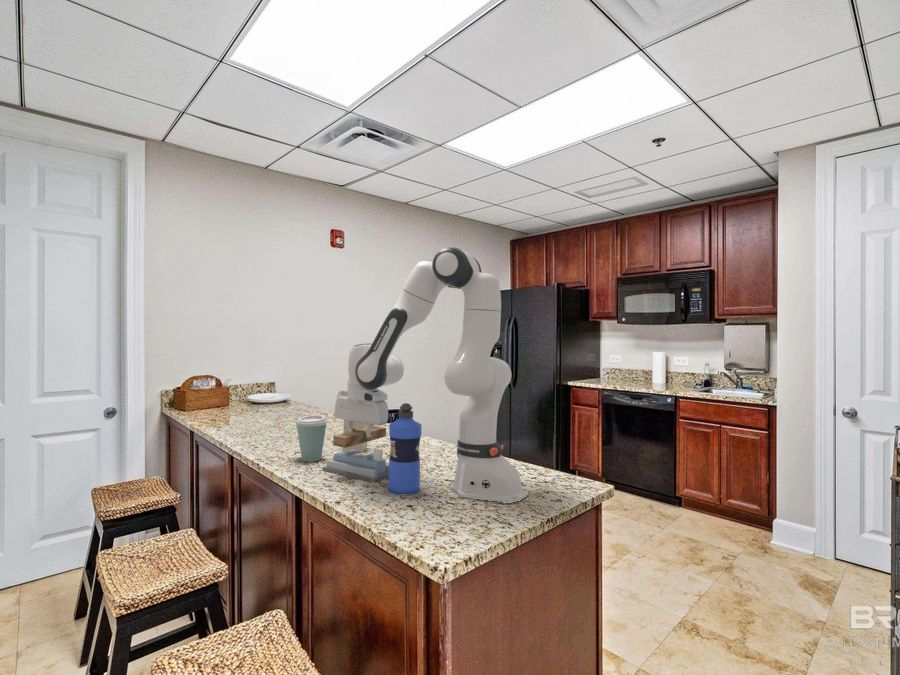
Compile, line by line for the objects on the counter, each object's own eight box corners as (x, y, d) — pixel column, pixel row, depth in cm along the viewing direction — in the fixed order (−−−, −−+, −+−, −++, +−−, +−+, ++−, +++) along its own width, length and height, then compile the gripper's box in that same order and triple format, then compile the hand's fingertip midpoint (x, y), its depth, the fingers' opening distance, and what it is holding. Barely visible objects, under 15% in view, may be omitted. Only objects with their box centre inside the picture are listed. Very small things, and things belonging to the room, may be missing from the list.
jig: (396, 473, 152) (396, 464, 152) (374, 482, 143) (374, 472, 143) (345, 462, 164) (346, 454, 164) (322, 470, 154) (322, 461, 154)
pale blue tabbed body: (385, 472, 151) (386, 448, 151) (376, 475, 147) (377, 451, 147) (339, 462, 161) (339, 440, 161) (329, 464, 157) (330, 442, 157)
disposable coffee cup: (317, 464, 161) (318, 420, 160) (288, 462, 163) (289, 418, 163) (331, 456, 171) (332, 415, 171) (304, 454, 173) (305, 414, 173)
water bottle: (390, 495, 132) (392, 406, 132) (385, 485, 141) (388, 401, 140) (422, 493, 134) (425, 406, 134) (416, 483, 143) (418, 401, 143)
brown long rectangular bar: (345, 447, 144) (345, 438, 144) (333, 445, 147) (333, 435, 147) (385, 436, 161) (386, 427, 161) (374, 434, 164) (374, 425, 164)
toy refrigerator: (368, 448, 186) (369, 395, 186) (362, 452, 178) (364, 397, 178) (348, 447, 187) (350, 394, 186) (342, 451, 179) (344, 396, 179)
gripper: (330, 391, 156) (329, 432, 156) (379, 397, 145) (377, 441, 145) (344, 389, 161) (342, 429, 161) (391, 395, 151) (390, 438, 151)
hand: (359, 435), depth 153 cm, fingers closed on brown long rectangular bar, 5 cm apart
